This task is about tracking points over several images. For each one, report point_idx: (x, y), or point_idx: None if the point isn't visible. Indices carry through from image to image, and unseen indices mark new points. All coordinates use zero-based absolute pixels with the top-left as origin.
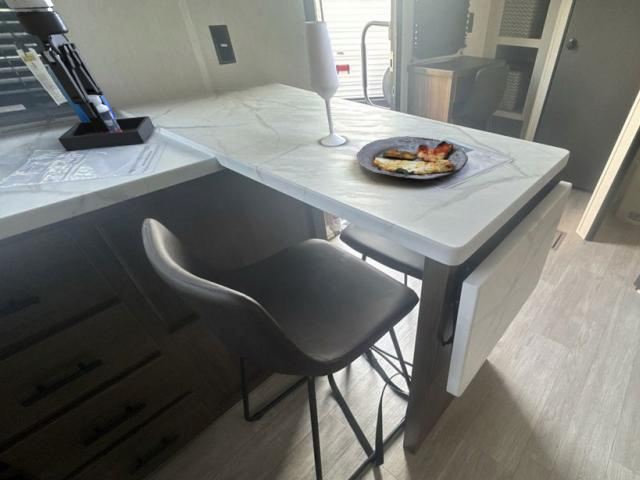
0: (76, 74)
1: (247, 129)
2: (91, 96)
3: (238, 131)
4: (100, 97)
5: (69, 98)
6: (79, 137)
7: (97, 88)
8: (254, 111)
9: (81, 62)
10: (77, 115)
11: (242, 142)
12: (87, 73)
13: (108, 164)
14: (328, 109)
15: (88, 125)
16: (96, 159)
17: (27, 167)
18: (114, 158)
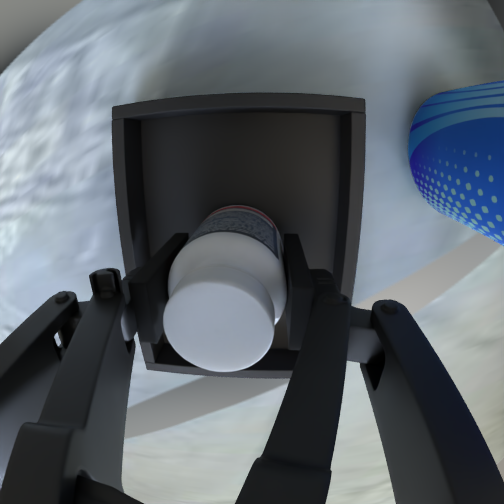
0: (120, 455)
1: (218, 488)
2: (227, 341)
3: (208, 481)
4: (295, 347)
5: (481, 102)
6: (115, 185)
7: (362, 363)
8: (347, 491)
9: (400, 501)
10: (454, 90)
11: (142, 473)
12: (383, 432)
13: (27, 281)
14: None
15: (346, 141)
16: (51, 242)
17: (40, 72)
18: (55, 287)
